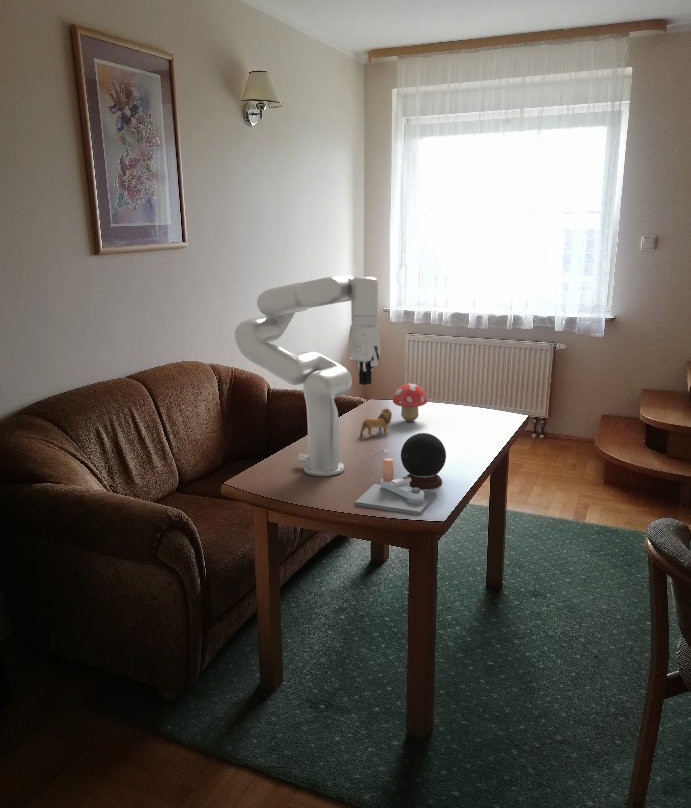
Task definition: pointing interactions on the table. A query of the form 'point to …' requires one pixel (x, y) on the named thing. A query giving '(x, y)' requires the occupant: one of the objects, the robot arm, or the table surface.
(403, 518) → the table surface
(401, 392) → the decorative mushroom
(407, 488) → the white lever handle
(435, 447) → the black stone ball
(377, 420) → the lion figurine
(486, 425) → the table surface
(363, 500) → the pintle board
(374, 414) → the table surface
